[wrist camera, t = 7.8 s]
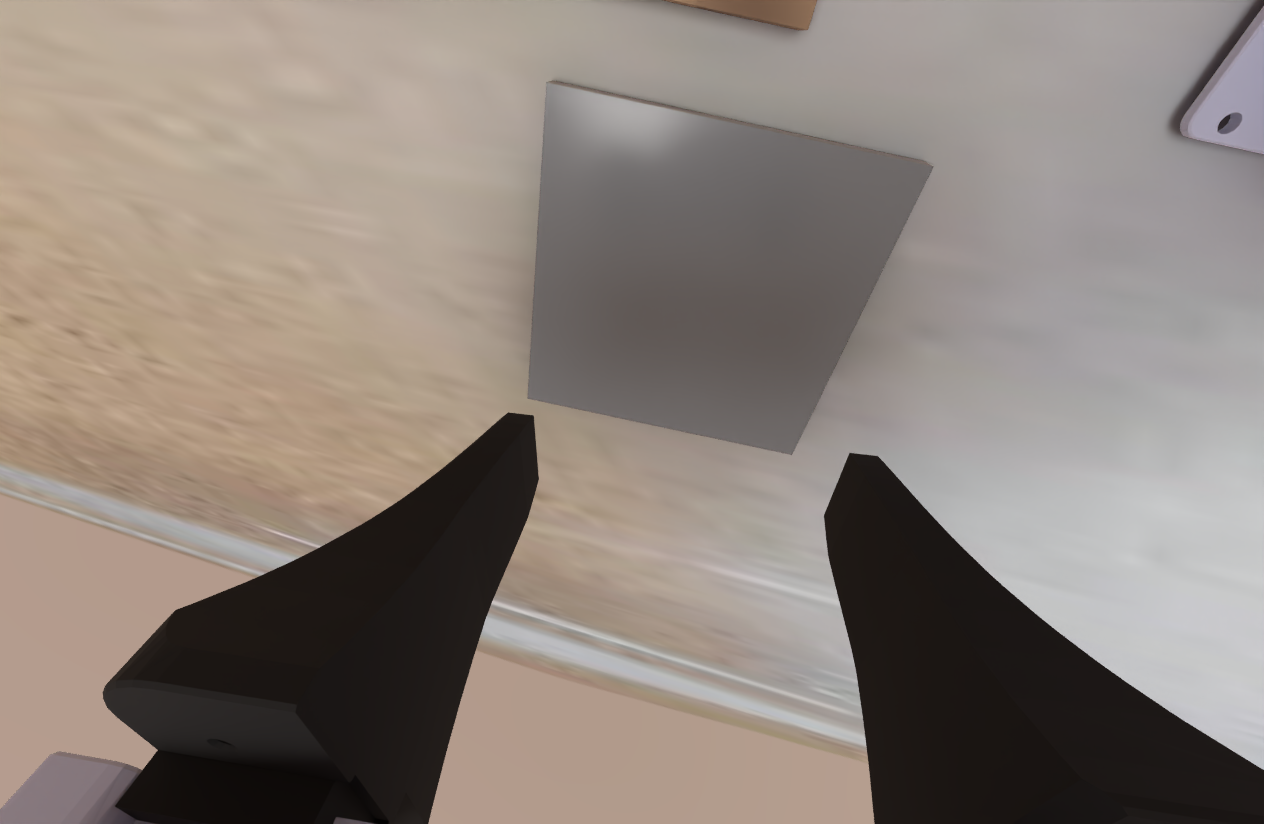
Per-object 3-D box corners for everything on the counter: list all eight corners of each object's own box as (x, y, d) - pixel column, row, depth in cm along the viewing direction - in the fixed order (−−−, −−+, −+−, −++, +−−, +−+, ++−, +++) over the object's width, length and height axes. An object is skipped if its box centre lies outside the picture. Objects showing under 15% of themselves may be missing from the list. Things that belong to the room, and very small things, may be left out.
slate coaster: (924, 161, 16) (933, 166, 16) (789, 443, 23) (791, 454, 23) (552, 80, 16) (546, 82, 15) (532, 388, 23) (527, 398, 23)
